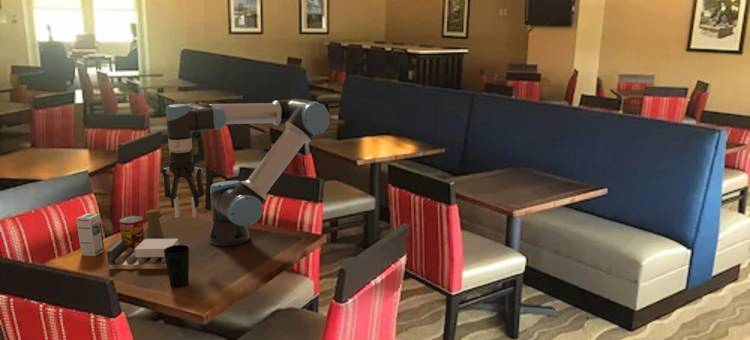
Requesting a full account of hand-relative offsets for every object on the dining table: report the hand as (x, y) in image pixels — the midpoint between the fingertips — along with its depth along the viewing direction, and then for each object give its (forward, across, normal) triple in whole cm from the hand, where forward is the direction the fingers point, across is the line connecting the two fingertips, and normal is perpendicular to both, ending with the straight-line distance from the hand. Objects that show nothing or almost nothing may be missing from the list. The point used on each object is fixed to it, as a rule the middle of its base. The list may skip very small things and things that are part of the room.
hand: (186, 216), depth 212 cm
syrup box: (+17, -38, +9) cm, 43 cm away
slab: (+13, -11, 0) cm, 17 cm away
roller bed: (+17, -15, 0) cm, 23 cm away
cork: (+17, -21, +26) cm, 37 cm away
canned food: (+17, -24, +12) cm, 32 cm away
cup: (+17, +2, -19) cm, 26 cm away
